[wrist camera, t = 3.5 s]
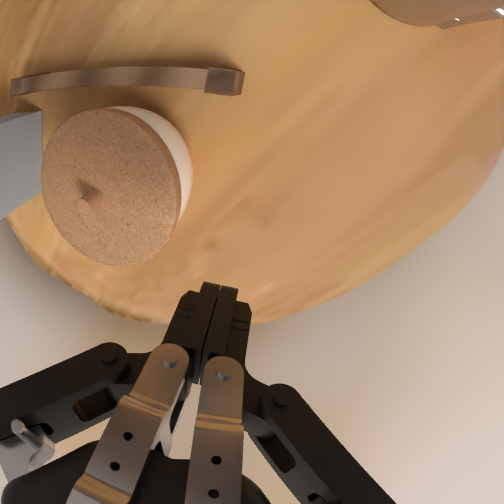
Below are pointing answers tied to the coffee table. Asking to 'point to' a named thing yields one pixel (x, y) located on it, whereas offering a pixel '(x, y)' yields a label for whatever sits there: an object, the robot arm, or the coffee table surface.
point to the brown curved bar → (135, 79)
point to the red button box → (20, 159)
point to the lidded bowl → (116, 183)
